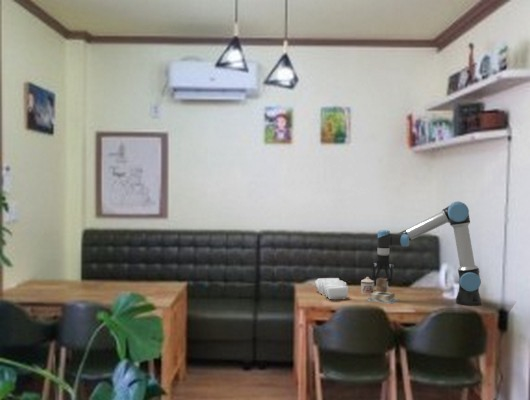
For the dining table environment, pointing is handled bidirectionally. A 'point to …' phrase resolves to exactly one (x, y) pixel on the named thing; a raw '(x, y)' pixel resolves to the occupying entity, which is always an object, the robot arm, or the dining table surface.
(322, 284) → the white wavy slab sculpture
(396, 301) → the plan mat
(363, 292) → the teacup with lid
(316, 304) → the dining table surface
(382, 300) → the riser block
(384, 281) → the walnut block
